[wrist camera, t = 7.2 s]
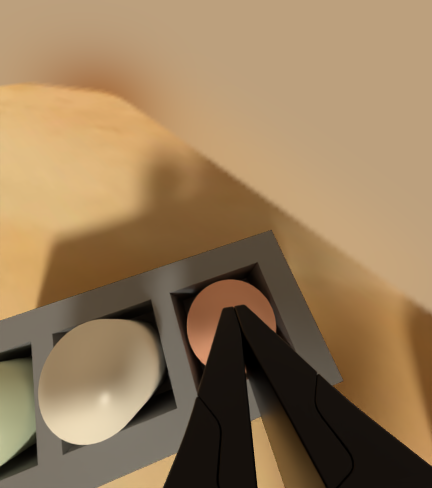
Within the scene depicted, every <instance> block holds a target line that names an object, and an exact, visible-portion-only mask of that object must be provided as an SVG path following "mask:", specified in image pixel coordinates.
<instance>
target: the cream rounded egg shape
mask: <svg viewBox="0 0 432 488" xmlns="http://www.w3.org/2000/svg"><path fill="white" fill-rule="evenodd" d="M167 374H168V368H167V364H166V360H165V355H164V351H163V347H162V343H161V339H160V335H159V331H158V326H157V325H155V324H153V323H151V322H149V321H145V320H123V319H98V320H92V321H88V322H86V323H83V324H81V325H79V326H77V327H75V328H74V329H72V330H71V331H69V332H68V333H67V334H66V335H65V336H63V337H62V338H61V339H60V340H59V342H58V343H57V344H56V345H55V346H54V348H53V349H52V351H51V352H50V354H49V356H48V357H47V359H46V361H45V364H44V366H43V369H42V372H41V375H40V380H39V387H38V400H39V407H40V411H41V414H42V417H43V419H44V421H45V423H46V425H47V426H48V428H49V429H50V430H51V431H52V432H53V433H54V434H55V435H56V436H57V437H59V438H60V439H62V440H64V441H66V442H69V443H72V444H78V445H89V444H95V443H98V442H101V441H104V440H106V439H108V438H110V437H112V436H113V435H115V434H116V433H118V432H119V431H120V430H121V429H122V428H124V427H125V426H126V425H127V423H128V422H129V421H130V420H131V419H132V418H133V417H134V416H135V415H136V413H137V412H138V411H139V410H140V409H141V408H142V407H143V406H144V404H145V403H146V402H147V401H148V400H149V399H150V398H151V396H152V395H153V394H154V393H155V392H156V391H157V390H158V389H159V387H160V386H161V385H162V383H163V382H164V380H165V379H166V377H167Z"/></svg>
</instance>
